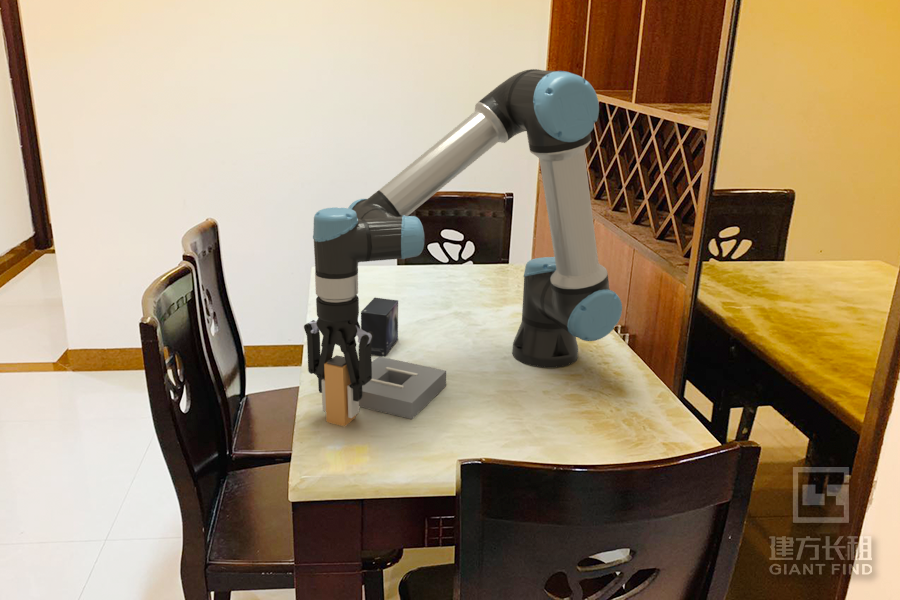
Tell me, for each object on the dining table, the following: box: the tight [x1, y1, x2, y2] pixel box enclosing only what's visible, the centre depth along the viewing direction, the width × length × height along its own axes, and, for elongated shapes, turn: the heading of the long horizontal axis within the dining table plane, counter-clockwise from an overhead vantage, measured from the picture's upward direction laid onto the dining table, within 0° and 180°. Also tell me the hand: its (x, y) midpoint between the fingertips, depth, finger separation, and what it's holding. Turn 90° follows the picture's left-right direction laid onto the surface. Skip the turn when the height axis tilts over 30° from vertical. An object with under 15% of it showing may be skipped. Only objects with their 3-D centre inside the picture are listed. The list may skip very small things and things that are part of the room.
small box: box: [360, 297, 399, 357], centre depth 169 cm, size 11×6×10 cm, turn 168°
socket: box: [359, 356, 447, 420], centre depth 148 cm, size 16×16×4 cm
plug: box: [324, 354, 357, 427], centre depth 136 cm, size 4×4×12 cm
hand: (340, 411), depth 137 cm, fingers open, 5 cm apart
